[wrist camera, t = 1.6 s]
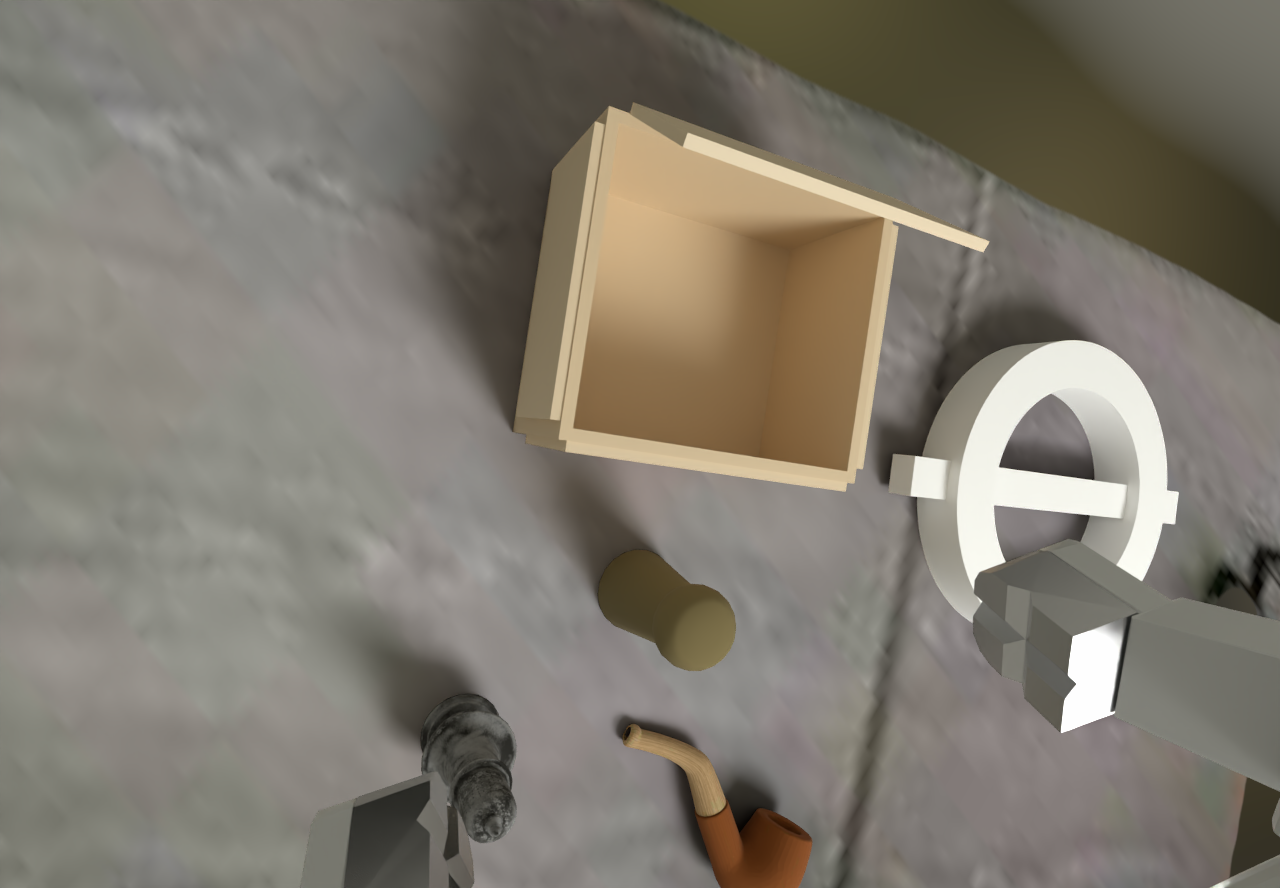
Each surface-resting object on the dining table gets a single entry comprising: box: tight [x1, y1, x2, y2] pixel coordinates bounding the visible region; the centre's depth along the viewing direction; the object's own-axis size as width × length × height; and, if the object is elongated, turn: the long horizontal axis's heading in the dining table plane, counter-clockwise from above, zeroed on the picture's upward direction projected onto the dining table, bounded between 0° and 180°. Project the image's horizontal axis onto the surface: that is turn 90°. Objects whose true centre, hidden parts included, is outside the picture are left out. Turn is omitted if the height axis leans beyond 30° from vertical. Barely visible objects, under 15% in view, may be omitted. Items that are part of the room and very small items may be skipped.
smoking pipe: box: [623, 724, 812, 888], centre depth 52 cm, size 7×18×6 cm, turn 49°
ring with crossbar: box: [888, 340, 1179, 623], centre depth 65 cm, size 28×28×5 cm
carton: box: [513, 106, 898, 492], centre depth 46 cm, size 19×21×11 cm
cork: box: [598, 550, 736, 671], centre depth 46 cm, size 6×6×11 cm
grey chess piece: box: [421, 694, 517, 843], centre depth 41 cm, size 6×6×12 cm
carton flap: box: [630, 102, 989, 252], centre depth 36 cm, size 1×18×9 cm, turn 81°
